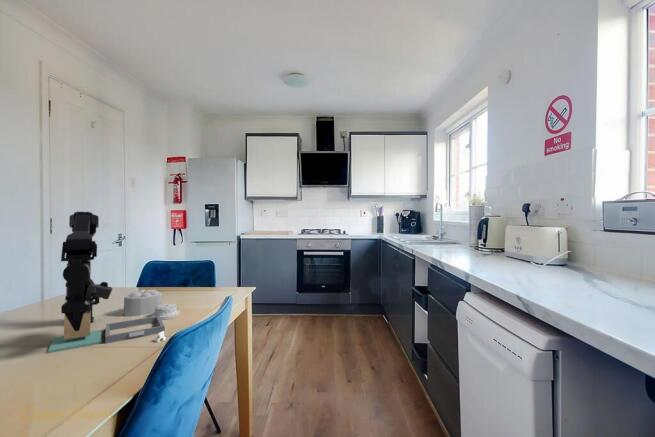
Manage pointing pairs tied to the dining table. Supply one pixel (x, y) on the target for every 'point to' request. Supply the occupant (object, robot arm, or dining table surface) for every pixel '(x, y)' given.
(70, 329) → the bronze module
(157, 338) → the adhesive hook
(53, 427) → the dining table surface
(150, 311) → the lumpy-topped squat cylinder
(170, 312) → the mechanical component
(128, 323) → the grey tapered frame
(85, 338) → the service mat
